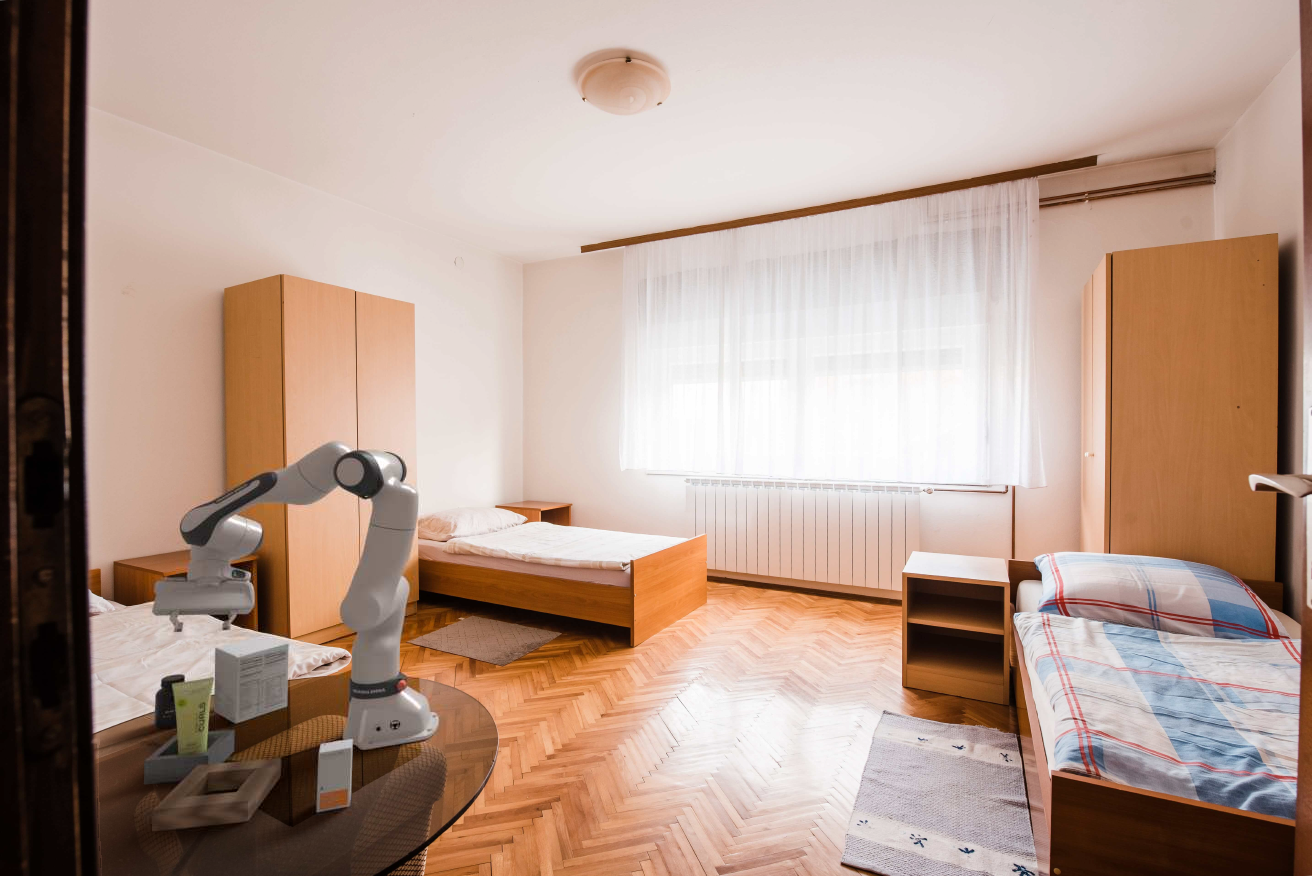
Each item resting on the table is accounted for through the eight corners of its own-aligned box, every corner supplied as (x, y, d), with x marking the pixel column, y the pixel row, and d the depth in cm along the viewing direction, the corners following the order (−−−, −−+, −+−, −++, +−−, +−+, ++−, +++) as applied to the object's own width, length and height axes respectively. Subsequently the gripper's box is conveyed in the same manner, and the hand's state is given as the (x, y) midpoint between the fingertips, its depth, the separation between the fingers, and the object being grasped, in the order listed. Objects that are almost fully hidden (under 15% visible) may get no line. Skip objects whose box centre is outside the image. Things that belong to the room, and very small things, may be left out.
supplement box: (288, 706, 166) (290, 643, 166) (235, 724, 155) (236, 657, 155) (265, 695, 173) (266, 634, 174) (212, 711, 162) (213, 647, 162)
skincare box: (316, 814, 119) (317, 753, 119) (318, 802, 122) (319, 743, 123) (350, 807, 121) (351, 747, 121) (351, 795, 125) (353, 737, 125)
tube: (186, 775, 131) (188, 686, 132) (169, 771, 133) (171, 683, 133) (212, 762, 137) (214, 676, 137) (196, 758, 138) (198, 673, 138)
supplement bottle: (168, 731, 151) (170, 683, 151) (147, 728, 152) (148, 681, 152) (194, 719, 158) (196, 673, 158) (173, 716, 159) (174, 671, 159)
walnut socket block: (280, 776, 132) (281, 758, 132) (247, 821, 116) (248, 800, 116) (197, 784, 128) (198, 765, 128) (152, 831, 113) (152, 809, 113)
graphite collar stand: (234, 750, 142) (234, 729, 142) (207, 778, 130) (208, 755, 130) (176, 755, 139) (176, 734, 140) (143, 784, 128) (144, 760, 128)
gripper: (158, 571, 144) (149, 626, 136) (257, 572, 157) (254, 622, 150) (153, 583, 147) (144, 637, 140) (252, 584, 161) (248, 633, 153)
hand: (202, 630), depth 145 cm, fingers open, 8 cm apart
